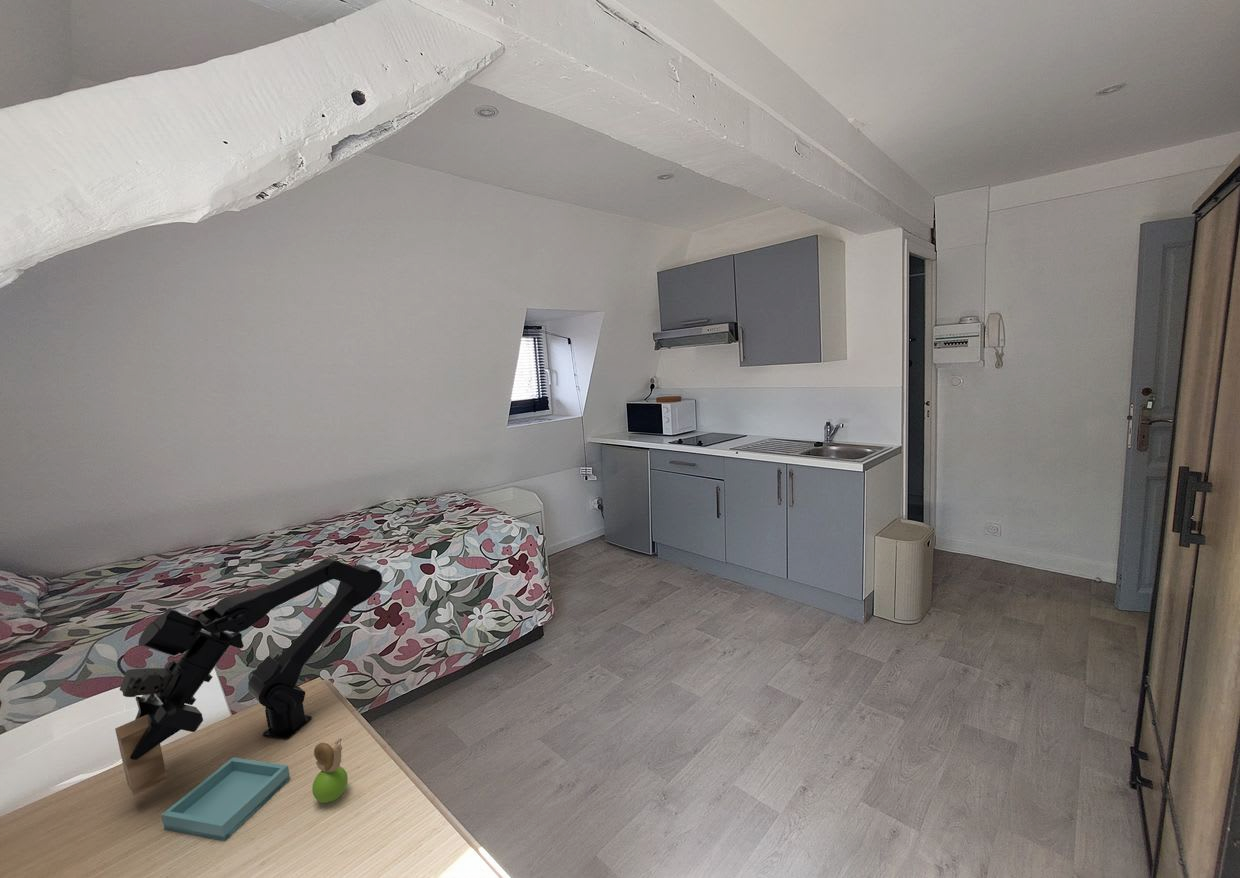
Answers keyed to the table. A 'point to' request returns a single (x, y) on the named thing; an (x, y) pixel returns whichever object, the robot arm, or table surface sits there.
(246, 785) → the teal tray
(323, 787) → the snail figurine
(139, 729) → the walnut block
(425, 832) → the table surface
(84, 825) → the table surface
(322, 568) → the robot arm
